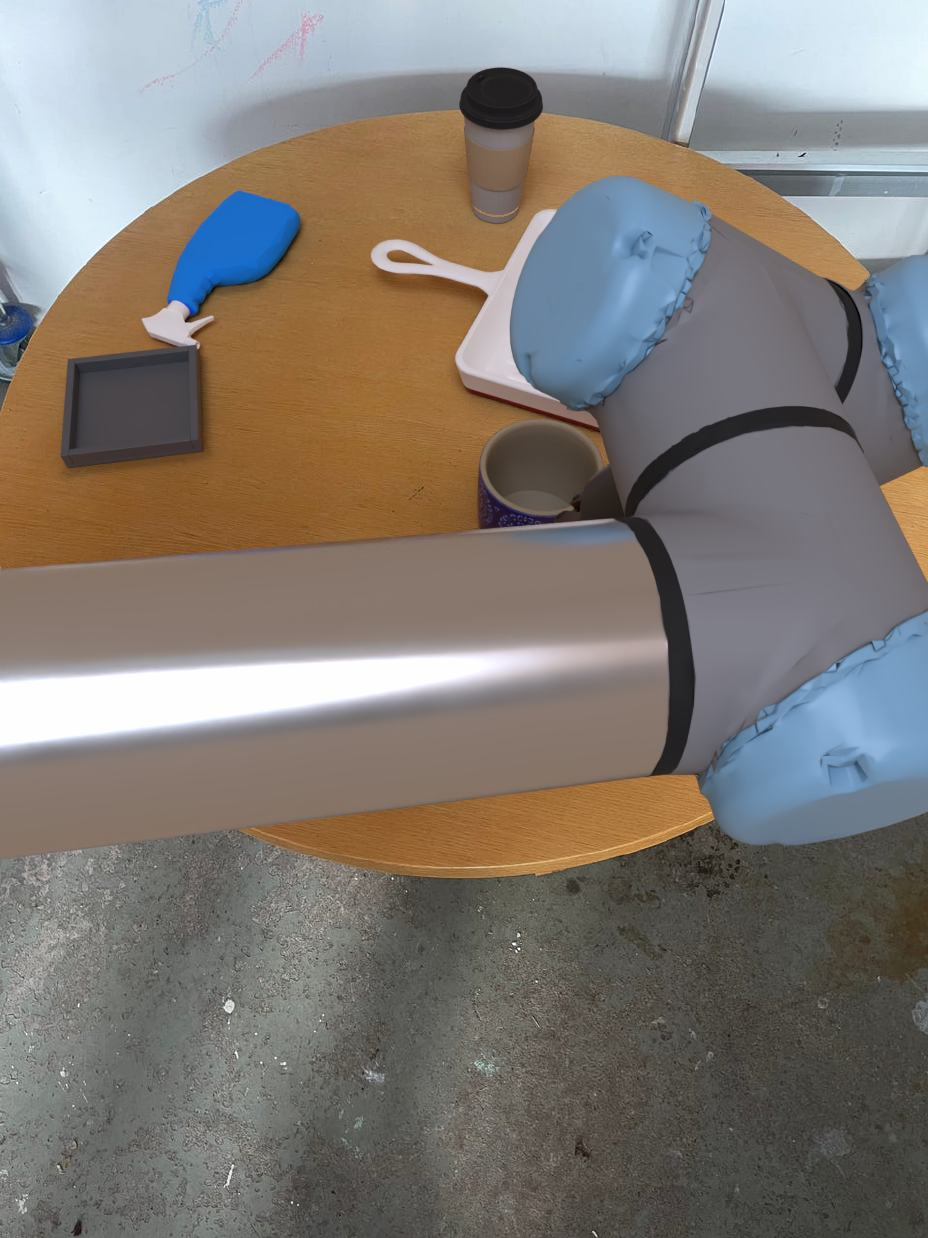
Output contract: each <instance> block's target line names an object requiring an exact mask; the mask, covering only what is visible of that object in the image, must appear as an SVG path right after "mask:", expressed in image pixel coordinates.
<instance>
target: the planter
mask: <svg viewBox="0 0 928 1238" xmlns="http://www.w3.org/2000/svg"><path fill="white" fill-rule="evenodd" d="M478 462H479V463H478V470H477V471H478V473H477V504H476V505H477V518H478V527H479V529H491V528H503V527H515V526H527V525H539V524H548V523H549V524H551V523H554V522H553V521H554V520H555V518H556V516H557V515H558V514H559V513H560V512H562V511H565V510H568V511H572V510H573V509H574V508H573V507H572V506H571V505H570V502H571V501H572V500H573V499H572V498H573V497H574V496H575V495H576V494H580V493H581V492H583V490H584V488H585V486H586V484H587V482H588V481H589V479H590V478H591V477H592V476H593V475H594V474H595V473H596V472H598V471H599V470H600V469H602V468H603V467H605V463H604V459H603V456H602V453H601V451H600V449H599V448H598V446H597V445H596V443H595V442H594V441H593V440H592V438H590V437H589V436H588V435H587V434H586V433H584V432H583V431H581V430H580V429H578V428H576V427H575V426H573V425H570V424H568V423H566V422H563V421H559V420H555V419H548V418H529V419H523V420H522V419H521V420H518V421H515V422H513V423H510V424H507V425H506V426H504V427H502V428H501V429H499V430H497V431H496V432H495V433H494V434H493V435H492V436H491V437H490V438H489V439H488V441H487V442H486V443H485V445H484V446H483V448H482V451H481V453H480V456H479V461H478Z"/></svg>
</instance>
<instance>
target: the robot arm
mask: <svg viewBox="0 0 928 1238" xmlns="http://www.w3.org/2000/svg"><path fill="white" fill-rule="evenodd" d="M510 345H511V351H512V356H513V359H514V362H515V365H516V367H517V369H518V371H519V373H520V374H521V375H522V376H524V377H525V379H526V381H527V382H528V383H530V384H531V385H532V387H533V388H534V389H536V390H538V391H540V392H541V393H544V394H546V395H549V396H551V397H553V398H555V399H557V400H559V401H560V403H561V404H563V405H565V406H567V409H568V410H571V411H587V412H589V413H590V414H591V415H592V416H593V417H594V418H595V419H596V421H597V424H598V427H599V430H600V431H599V432H600V436H601V439H602V443H603V446H604V450H605V454H606V456H607V460H608V464H606V465H604V467H603V468H602V469H600V470H599V471H598V472H596V473H595V474H594V475H593V476H592V477H591V478H590V479H589V481H588V482H587V484H586V486H585V488H584V490H583V492H581V493H580V494H576V495H575V496H574V497H573V498H572V499H573V500H572V501H571V502H570V505H571V506H572V507H573V508H574V509H573V510H572V511H568V510H565V511H562V512H560V513H559V514H558V515H557V516H556V518H555V520H554V521H553V522H554V523H551V524H549V523H548V524H539V525H527V526H515V527H503V528H491V529H480V528H479V529H469V530H468V529H467V530H455V531H443V532H431V533H419V534H408V535H407V534H406V535H398V536H397V535H396V536H395V535H393V536H383V537H372V538H361V539H360V538H359V539H348V540H336V541H335V540H334V541H323V542H311V543H299V544H288V545H278V546H277V545H276V546H275V545H274V546H263V547H249V548H240V549H239V548H238V549H228V550H227V549H226V550H214V551H202V552H190V553H180V554H179V553H177V554H166V555H165V554H164V555H155V556H141V557H131V558H130V557H129V558H128V557H127V558H118V559H103V560H93V561H79V562H69V563H56V564H46V565H33V566H22V567H20V566H19V567H10V568H0V861H1V860H2V861H3V860H10V859H18V858H25V857H34V856H41V855H48V854H56V853H63V852H73V851H80V850H86V849H87V850H88V849H95V848H104V847H111V846H119V845H126V844H127V845H128V844H135V843H141V842H142V843H143V842H151V841H157V840H166V839H174V838H180V837H189V836H196V835H197V836H198V835H205V834H212V833H213V834H214V833H221V832H229V831H236V830H245V829H251V828H260V827H267V826H274V825H283V824H291V823H298V822H306V821H307V822H308V821H313V820H321V819H330V818H335V817H336V818H337V817H345V816H353V815H361V814H369V813H376V812H383V811H392V810H398V809H399V810H400V809H407V808H415V807H422V806H423V807H424V806H431V805H438V804H445V803H446V804H447V803H455V802H463V801H469V800H476V799H477V800H479V799H485V798H493V797H500V796H501V797H502V796H508V795H516V794H524V793H525V794H526V793H532V792H539V791H549V790H555V789H564V788H571V787H578V786H587V785H595V784H602V783H611V782H617V781H624V780H633V779H640V778H649V777H657V776H658V777H659V776H695V778H696V782H697V786H698V790H699V794H700V795H702V796H703V797H704V798H705V799H706V800H707V801H708V804H709V808H710V809H711V813H712V815H713V818H714V820H715V822H716V823H717V826H718V827H719V828H720V830H721V831H722V832H723V833H725V834H726V835H727V836H728V837H730V838H732V839H733V840H735V841H737V842H740V843H742V844H745V845H750V846H768V845H773V844H779V845H780V846H785V847H786V846H802V845H808V844H814V843H820V842H821V843H822V842H825V841H831V840H838V839H841V838H842V839H843V838H846V837H852V836H855V835H859V834H863V833H867V832H870V831H874V830H878V829H880V828H881V829H882V828H885V827H889V826H892V825H894V824H895V825H896V824H898V823H901V822H904V821H906V820H907V821H908V820H909V819H912V818H915V817H918V816H921V815H923V814H925V813H928V580H927V577H926V576H925V574H924V571H923V570H922V567H921V566H920V564H919V562H918V560H917V558H916V556H915V554H914V552H913V550H912V548H911V545H910V544H909V542H908V540H907V538H906V536H905V534H904V532H903V529H902V528H901V526H900V524H899V522H898V519H897V518H896V516H895V514H894V512H893V510H892V507H891V506H890V504H889V502H888V500H887V498H886V496H885V494H884V492H883V490H882V488H881V486H884V485H886V484H888V483H890V482H892V481H895V480H896V479H899V478H901V477H903V476H905V475H907V474H910V473H911V472H914V471H916V470H918V469H921V468H922V467H924V468H925V469H927V468H928V253H927V254H911V255H909V256H904V258H902V259H901V260H899V261H897V262H895V263H894V264H893V265H891V266H889V267H887V268H885V269H884V270H882V271H881V272H874V273H870V275H868V277H867V278H866V279H864V281H863V283H862V284H861V285H859V287H857V288H856V289H850V288H849V287H847V286H845V285H844V284H841V283H839V282H838V281H835V280H834V279H831V278H828V277H823V276H820V275H818V274H816V273H815V272H813V271H811V270H810V269H808V268H806V267H805V266H803V265H801V264H799V263H797V262H796V261H794V260H792V259H791V258H789V257H787V256H785V255H784V254H782V253H780V252H779V251H777V250H776V249H773V248H772V247H770V246H768V245H766V244H765V243H763V242H761V241H760V240H758V239H756V238H755V237H753V236H751V235H749V234H748V233H746V232H744V231H742V230H740V229H739V228H737V227H736V226H734V225H733V224H730V223H728V222H727V221H725V220H724V219H722V218H720V217H718V216H717V215H715V214H713V213H712V211H711V207H710V206H708V205H706V204H705V203H703V202H701V201H699V200H693V201H689V200H687V199H685V198H682V197H680V196H677V195H676V194H673V193H671V192H669V191H667V190H664V189H662V188H660V187H657V186H655V185H653V184H651V183H649V182H647V181H644V180H642V179H640V178H637V177H634V176H630V175H611V176H607V177H603V178H600V179H597V180H594V181H592V182H590V183H588V184H587V185H584V186H583V187H582V188H580V189H579V190H577V191H576V192H575V193H573V194H571V196H570V197H569V198H567V199H566V200H565V201H564V202H563V203H562V204H561V205H560V206H559V207H558V208H557V211H556V213H555V214H554V216H553V218H552V219H551V221H550V222H549V223H548V225H547V226H546V227H545V229H544V230H543V231H542V233H541V234H540V235H539V236H538V238H537V239H536V241H535V243H534V244H533V246H532V248H531V250H530V252H529V254H528V256H527V259H526V261H525V263H524V266H523V268H522V271H521V274H520V276H519V279H518V283H517V286H516V289H515V294H514V298H513V303H512V309H511V316H510Z"/></svg>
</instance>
